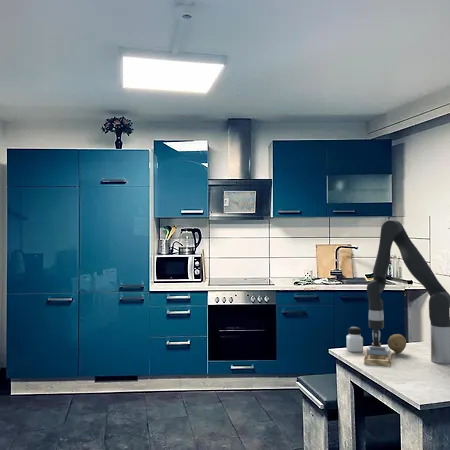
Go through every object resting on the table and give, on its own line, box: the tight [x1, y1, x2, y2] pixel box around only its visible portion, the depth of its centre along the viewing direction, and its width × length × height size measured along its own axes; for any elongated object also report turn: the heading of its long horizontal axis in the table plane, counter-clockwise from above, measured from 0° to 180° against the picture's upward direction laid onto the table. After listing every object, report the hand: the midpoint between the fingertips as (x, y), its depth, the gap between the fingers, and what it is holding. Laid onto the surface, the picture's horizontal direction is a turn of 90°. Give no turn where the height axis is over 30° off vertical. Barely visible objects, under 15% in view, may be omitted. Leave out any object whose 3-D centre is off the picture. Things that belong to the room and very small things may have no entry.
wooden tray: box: [363, 347, 392, 368], centre depth 236 cm, size 12×19×4 cm, turn 161°
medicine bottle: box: [345, 326, 364, 353], centre depth 256 cm, size 7×7×12 cm
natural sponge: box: [387, 333, 407, 355], centre depth 249 cm, size 9×9×10 cm
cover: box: [367, 345, 389, 355], centre depth 240 cm, size 9×8×4 cm
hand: (376, 350), depth 252 cm, fingers open, 6 cm apart
